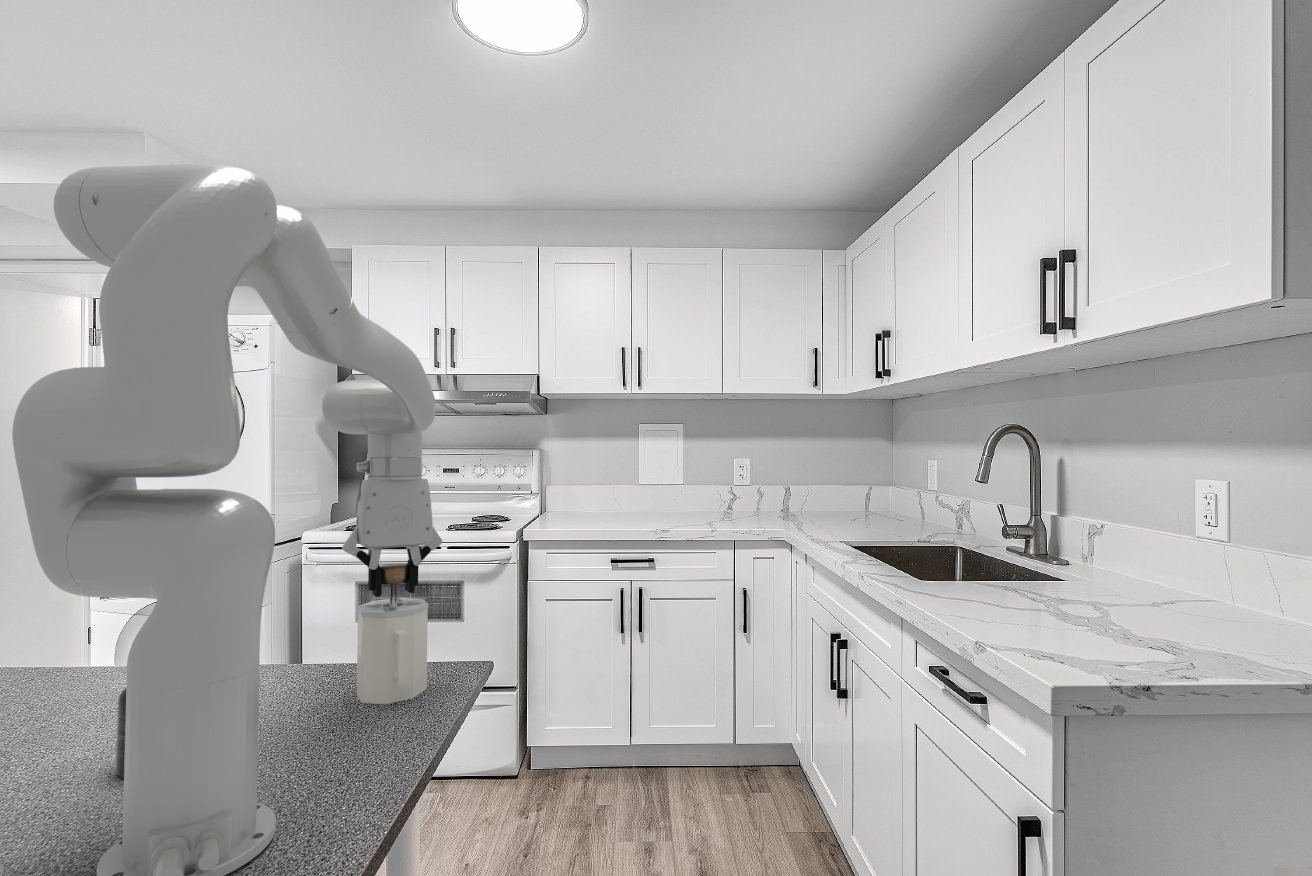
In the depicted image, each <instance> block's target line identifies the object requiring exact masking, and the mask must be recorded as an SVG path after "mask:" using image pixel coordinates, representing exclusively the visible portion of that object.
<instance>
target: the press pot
mask: <svg viewBox="0 0 1312 876" xmlns="http://www.w3.org/2000/svg"><path fill="white" fill-rule="evenodd" d="M428 610H429V602H427V601H426V600H424V599H423V598H411V597H397V607H390V598H387V599H386V598H385V599H379V600H371V601H369V602H366V603H363V604H361V605H358V606H357V608H356V613H357V645H356V646H357V647H356V650H357V651H356V652H357V655H356V658H357V659H356V661H357V663H356V696H357V698H358V699H359V701H360V704H361V703H363V704H372V705H373V704H375V705H391V704H395V703H399V701H400V702H403V701H404V700H405V701H408V699H410V700H413V699H415V698H417V697H418V696H419V694H420V693H421V694H423V693H424V692H425V691H424V690H426V689H428V617H429V616H428V613H429V612H428ZM423 691H424V692H423ZM426 691H427V690H426ZM422 692H423V693H422ZM421 694H420V695H421ZM417 695H418V696H417ZM414 697H415V698H414ZM412 698H413V699H412ZM405 701H404V702H405ZM394 702H395V703H394Z"/></svg>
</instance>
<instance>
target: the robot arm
mask: <svg viewBox="0 0 1312 876" xmlns="http://www.w3.org/2000/svg"><path fill="white" fill-rule="evenodd" d="M53 212H54V218H55V220H56V222H57V225H58V227H59V229H60V231H61V232H62V234H63V235H64V237H65V239H66V240H68V242H69V243H70V244H71V245H72V246H73V247H74V248H75V249H77V250H78V251H79V252H80V253H81V254H82V255H84V256H85V257H87V258H89V259H90V260H92V261H94V262H96V263H97V264H100V265H102V266H105V267H108V268H109V270H108V272H107V273H106V276H105V279H104V281H103V283H102V286H101V291H100V296H99V304H98V305H99V306H98V310H99V311H98V313H99V322H100V331H101V341H102V344H101V345H102V350H103V360H104V362H103V365H104V366H86V367H85V366H84V367H83V366H81V367H71V368H66V369H60V370H57V371H54V372H51V373H49V374H47V375H44V376H43V377H41V378H40V379H38V380H37V381H35V383H33V384H32V385H31V386H30V387H29V388H28V389H27V390H26V392H25V393H24V394H23V396H22V398H21V399H20V401H19V403H18V405H17V408H16V409H15V410H16V411H15V413H14V417H13V422H12V433H11V436H12V445H13V446H12V447H13V453H14V459H15V464H16V468H17V473H18V478H19V483H20V487H21V493H22V497H23V502H24V507H25V511H26V517H27V522H28V526H29V531H30V535H31V538H32V539H31V540H32V544H33V547H34V551H35V555H36V558H37V561H38V563H39V565H40V567H41V569H42V571H43V573H44V575H45V576H46V577H47V578H48V580H49V581H50V582H51V583H52V584H53V585H54V586H55V587H57V588H58V589H60V590H61V591H64V592H66V593H68V594H71V595H75V596H81V597H89V598H109V599H110V598H111V599H112V598H115V599H117V598H121V599H123V598H127V599H128V598H129V599H133V598H134V599H135V598H136V599H137V598H139V599H143V598H144V599H152V600H156V602H155V605H154V607H153V609H152V611H151V612H150V614H149V616H148V617H147V619H145V622H144V623H143V624H142V626H141V627H140V629H139V631H138V632H137V633H136V635H135V637H134V639H133V641H132V643H131V646H130V649H129V651H128V656H127V660H126V673H125V684H126V687H127V688H126V687H125V688H126V724H125V760H124V778H123V798H122V799H123V801H122V804H123V805H122V807H123V808H122V810H123V811H122V836H121V838H120V839H119V840H117V841H116V842H115V843H114V844H113V845H112V846H111V847H110V848H109V849H107V850H106V852H104V853H103V855H102V857H101V858H100V859H99V861H98V862H97V863H98V864H97V866H96V876H227V875H228V874H230V873H232V872H234V871H236V870H238V869H240V868H242V866H244V865H246V864H248V863H249V862H251V861H252V860H254V858H255V857H257V856H258V855H259V854H261V853H262V852H263V850H265V849H266V847H267V846H268V845H269V844H270V843H271V841H272V839H273V838H274V837H275V833H276V831H277V816H276V814H275V811H274V810H272V808H270V807H269V806H268V805H265V804H262V803H260V802H258V764H259V763H258V761H259V760H258V756H259V755H258V754H259V706H260V705H259V704H260V703H259V701H260V663H261V662H260V655H261V653H260V649H261V627H262V626H261V625H262V612H263V603H264V598H265V597H264V596H265V591H266V585H267V582H268V581H267V580H268V576H269V572H270V567H271V564H272V560H273V555H274V550H275V542H276V529H275V527H276V526H275V524H274V520H273V517H272V515H271V514H270V512H269V510H268V509H267V508H266V507H265V506H264V505H263V503H261V502H260V501H258V500H257V499H255V498H254V497H252V496H249V495H247V494H244V493H240V492H236V491H231V490H228V489H227V490H226V489H218V488H217V489H216V488H161V489H155V488H153V489H152V488H150V489H145V488H144V489H141V488H139V489H138V486H137V484H138V483H137V478H138V479H139V478H142V479H143V478H146V479H147V478H149V479H150V478H155V479H156V478H187V477H189V478H190V477H196V476H204V475H208V474H211V473H215V472H218V471H220V470H222V469H224V468H226V467H227V466H229V465H230V464H231V463H232V462H233V460H234V459H235V458H236V456H237V454H238V452H239V448H240V444H241V443H240V442H241V421H240V412H239V411H240V410H239V404H238V403H239V402H238V395H237V390H236V383H235V382H236V381H235V373H234V366H233V360H232V352H231V344H230V335H229V322H228V321H229V320H228V319H229V318H228V317H229V316H228V314H229V306H230V301H231V299H232V295H233V293H234V291H235V288H236V287H249V288H252V289H254V291H256V292H257V294H258V295H259V297H260V299H262V301H263V303H264V304H265V307H266V308H267V309H268V311H269V312H270V314H271V315H272V317H273V319H274V320H275V322H276V323H277V325H278V326H279V327H280V329H281V331H282V332H283V334H284V336H285V337H286V339H287V340H288V342H289V343H290V344H291V345H292V347H293V348H295V349H296V350H297V351H299V352H301V353H303V354H305V355H307V356H310V357H312V358H315V359H318V360H321V361H323V362H326V363H328V364H332V365H336V366H339V367H343V368H345V369H348V370H353V371H355V372H358V373H361V374H364V375H366V376H369V377H371V378H372V379H353V380H352V379H351V380H343V381H339V382H337V383H334V384H333V385H331V386H330V387H329V389H327V390H326V391H325V393H324V396H323V398H322V403H321V408H322V409H321V411H322V414H323V417H324V419H325V421H326V422H327V424H328V425H329V426H330V427H332V429H334V430H336V431H338V432H341V433H342V434H347V435H367V458H366V459H365V461H362V462H356V471H357V472H361V473H364V474H365V475H366V476H367V479H362V482H361V487H360V490H359V496H358V503H357V504H358V505H357V513H356V525H355V527H354V529H353V531H351V533H350V535H349V536H348V537H347V539H346V540H345V542H344V543H343V545H342V546H341V550H343V552H345V553H347V554H349V555H351V556H353V557H354V558H356V559H358V560H360V562H362V563H363V565H365V567H367V569H368V571H367V572H368V573H367V574H368V580H367V581H368V584H367V585H368V586H367V588H368V591H369V592H371V593H372V595H373V596H374V597H375V598H378V597H381V596H382V592H383V591H382V589H383V588H382V587H383V586H382V585H383V584H382V570H381V569H380V566H381V565H380V559H381V554H382V551H383V550H382V549H389V548H390V549H393V548H406V553H407V558H408V560H407V563H406V564H408V582H405V583H404V591H406V592H407V593H410V594H413V593H415V590H416V589H415V588H416V587H418V586H419V566H420V565H421V564H422V562H423V560H424V559H425V558H427V557H428V555H429V554H430V553H431V552H432V551H434V550H435V549H437V548H438V547H439V546H441V545H442V544H443V539H442V538H441V536H440V535H439V534H438V532H437V530H436V529H435V527H434V526H433V524H434V523H433V510H432V509H433V507H432V499H431V492H430V485H429V484H430V483H429V480H428V478H423V477H422V475H423V471H422V470H423V466H422V465H423V458H422V457H423V432H425V431H426V430H428V429H429V428H430V427H431V425H432V424H433V423H434V420H435V417H436V409H437V408H436V407H437V406H436V405H437V404H436V398H435V395H434V391H433V388H432V386H431V383H430V380H429V378H428V375H427V374H426V372H425V369H424V367H423V365H422V363H421V361H420V359H419V357H417V355H416V354H415V353H414V352H413V350H412V349H410V348H409V346H407V345H406V344H405V343H404V342H403V341H401V340H400V339H399V338H397V337H396V336H394V335H393V334H392V333H391V332H389V331H388V330H387V329H385V328H384V327H382V326H380V325H379V324H378V323H375V321H372V320H371V319H369V318H367V317H365V316H364V315H362V314H361V313H360V311H359V309H358V308H357V306H356V304H355V302H354V300H353V298H352V296H351V294H350V293H349V290H348V289H347V288H348V287H346V284H345V282H344V280H343V279H342V277H341V275H340V273H339V270H338V268H337V266H336V264H335V262H334V261H333V259H332V257H331V256H332V255H330V253H329V251H328V249H327V246H326V244H325V243H324V240H323V239H322V237H321V235H320V233H319V231H318V229H317V228H316V225H314V223H313V222H312V220H311V219H310V218H309V217H308V216H306V215H305V214H304V213H303V212H302V211H300V210H298V209H296V208H294V207H292V206H291V207H290V206H287V205H282V204H277V201H276V198H275V195H274V192H273V190H272V189H271V187H270V185H269V184H268V183H267V182H266V180H264V179H263V178H262V177H260V176H259V175H257V174H256V173H254V172H252V171H250V170H248V169H245V168H241V167H237V166H232V165H227V164H213V163H212V164H211V163H180V164H179V163H175V164H173V163H171V164H158V165H157V164H155V165H124V166H123V165H122V166H121V165H117V166H113V165H112V166H93V167H89V168H88V167H87V168H83V169H80V170H77V171H75V172H72V173H70V174H69V175H68V176H67V177H66V178H64V179H63V180H62V181H61V183H60V184H59V185H58V187H57V188H56V191H55V194H54V197H53ZM357 544H359V545H360V546H362V547H363V548H366V549H368V551H367V552H365V551H364V550H362V549H361V548H359V547H357ZM419 546H420V547H419Z"/></svg>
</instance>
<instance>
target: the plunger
mask: <svg viewBox="0 0 1312 876" xmlns="http://www.w3.org/2000/svg"><path fill="white" fill-rule="evenodd" d="M380 569H381V570H382V585H389V599H390V607H397V598H398V585H400V584H405V582H408V564H407V563H388V564H382V565H380Z"/></svg>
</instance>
